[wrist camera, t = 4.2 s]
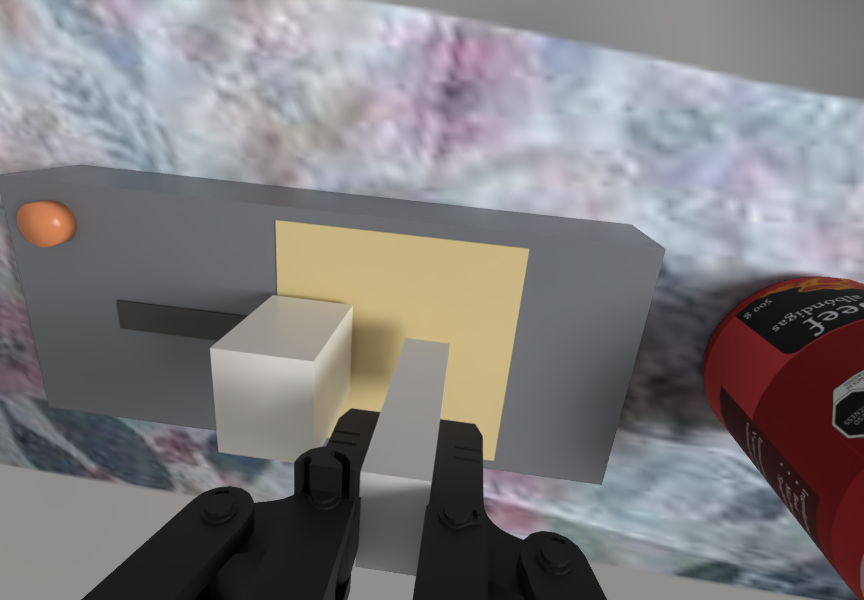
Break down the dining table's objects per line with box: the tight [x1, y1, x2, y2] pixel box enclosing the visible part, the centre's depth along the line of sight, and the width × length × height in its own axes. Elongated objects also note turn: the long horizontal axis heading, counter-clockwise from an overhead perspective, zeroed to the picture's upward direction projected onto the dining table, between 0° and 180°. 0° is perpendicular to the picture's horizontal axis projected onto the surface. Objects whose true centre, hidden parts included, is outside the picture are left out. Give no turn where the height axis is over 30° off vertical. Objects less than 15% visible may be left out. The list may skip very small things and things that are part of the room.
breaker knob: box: [210, 295, 353, 463], centre depth 16 cm, size 3×4×4 cm
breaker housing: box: [0, 165, 666, 485], centre depth 20 cm, size 24×10×5 cm, turn 85°
